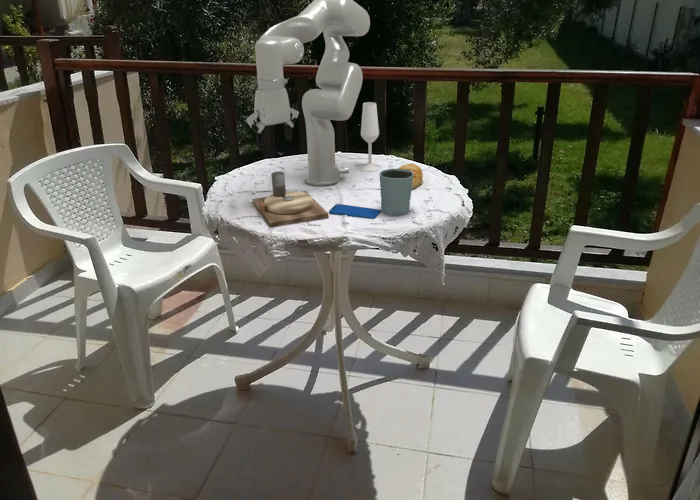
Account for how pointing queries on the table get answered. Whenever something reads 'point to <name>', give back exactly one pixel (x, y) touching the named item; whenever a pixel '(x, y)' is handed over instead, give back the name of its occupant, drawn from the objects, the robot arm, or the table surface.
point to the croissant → (417, 174)
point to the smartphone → (354, 211)
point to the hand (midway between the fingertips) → (275, 142)
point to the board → (286, 219)
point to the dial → (286, 198)
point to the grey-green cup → (395, 191)
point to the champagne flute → (369, 131)
